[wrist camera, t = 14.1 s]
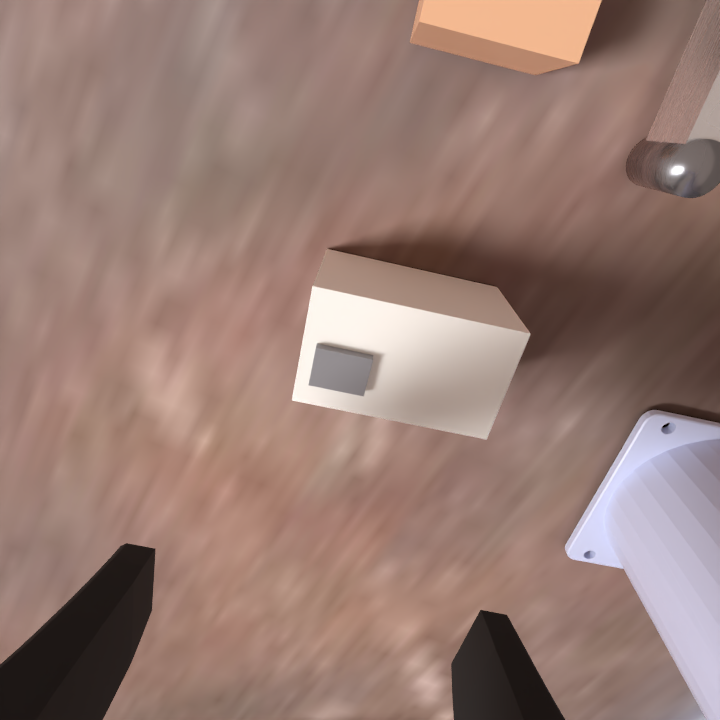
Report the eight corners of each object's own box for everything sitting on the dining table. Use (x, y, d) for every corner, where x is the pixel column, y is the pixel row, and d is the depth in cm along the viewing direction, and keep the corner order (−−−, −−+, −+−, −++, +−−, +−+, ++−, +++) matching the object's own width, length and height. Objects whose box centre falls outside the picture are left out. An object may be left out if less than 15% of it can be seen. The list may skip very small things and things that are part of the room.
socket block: (497, 287, 17) (534, 338, 13) (464, 376, 18) (488, 445, 14) (326, 248, 16) (311, 289, 12) (308, 343, 18) (290, 405, 14)
